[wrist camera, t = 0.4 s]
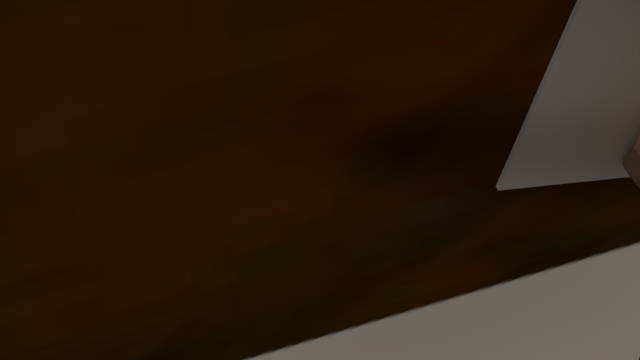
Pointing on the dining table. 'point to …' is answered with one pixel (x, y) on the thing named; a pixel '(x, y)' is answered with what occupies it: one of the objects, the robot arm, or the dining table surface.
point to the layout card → (583, 102)
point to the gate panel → (633, 163)
